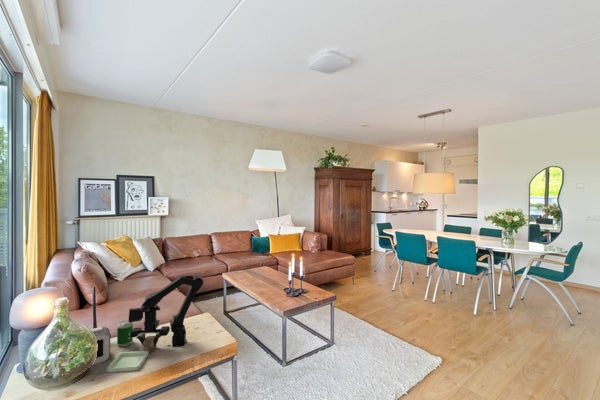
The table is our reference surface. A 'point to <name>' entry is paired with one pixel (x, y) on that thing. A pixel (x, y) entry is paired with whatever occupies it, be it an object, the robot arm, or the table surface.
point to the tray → (128, 361)
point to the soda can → (124, 333)
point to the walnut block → (149, 343)
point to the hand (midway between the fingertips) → (150, 347)
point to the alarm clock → (102, 344)
